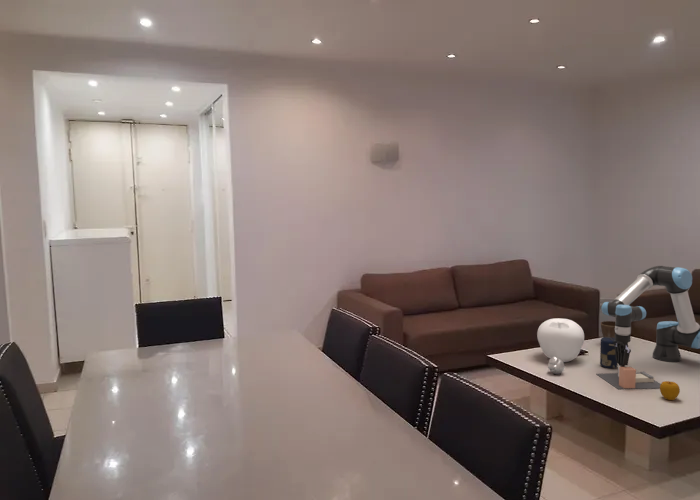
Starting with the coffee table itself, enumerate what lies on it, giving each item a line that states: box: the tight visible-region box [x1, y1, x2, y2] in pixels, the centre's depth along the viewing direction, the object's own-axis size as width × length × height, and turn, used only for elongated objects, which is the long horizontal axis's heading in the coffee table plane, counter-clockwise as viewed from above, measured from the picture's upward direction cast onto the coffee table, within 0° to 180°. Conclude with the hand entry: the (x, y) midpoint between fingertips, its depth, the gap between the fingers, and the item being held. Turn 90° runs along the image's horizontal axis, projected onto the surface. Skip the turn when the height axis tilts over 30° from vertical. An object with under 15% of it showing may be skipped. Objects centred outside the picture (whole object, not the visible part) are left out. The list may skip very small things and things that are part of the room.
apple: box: [659, 380, 681, 401], centre depth 259 cm, size 9×8×9 cm
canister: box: [599, 337, 618, 369], centre depth 309 cm, size 10×10×18 cm
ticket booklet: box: [635, 371, 655, 383], centre depth 285 cm, size 14×9×3 cm, turn 91°
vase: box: [536, 317, 585, 363], centre depth 323 cm, size 28×27×25 cm
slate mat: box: [596, 372, 661, 390], centre depth 285 cm, size 26×24×1 cm
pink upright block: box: [619, 366, 637, 388], centre depth 275 cm, size 6×5×10 cm
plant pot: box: [600, 320, 615, 338], centre depth 349 cm, size 15×15×16 cm
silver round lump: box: [547, 357, 566, 375], centre depth 299 cm, size 9×10×10 cm
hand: (621, 376), depth 281 cm, fingers closed
